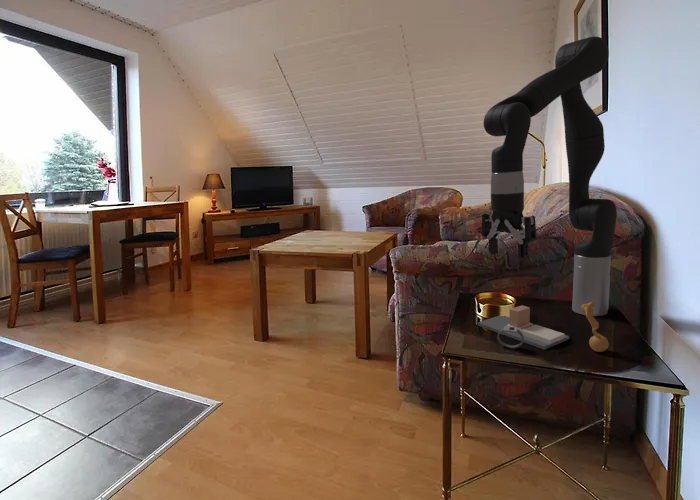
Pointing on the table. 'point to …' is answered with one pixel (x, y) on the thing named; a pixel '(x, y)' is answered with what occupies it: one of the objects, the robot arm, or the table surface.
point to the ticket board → (526, 332)
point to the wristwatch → (510, 330)
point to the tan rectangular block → (520, 317)
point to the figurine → (597, 340)
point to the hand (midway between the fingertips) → (507, 256)
